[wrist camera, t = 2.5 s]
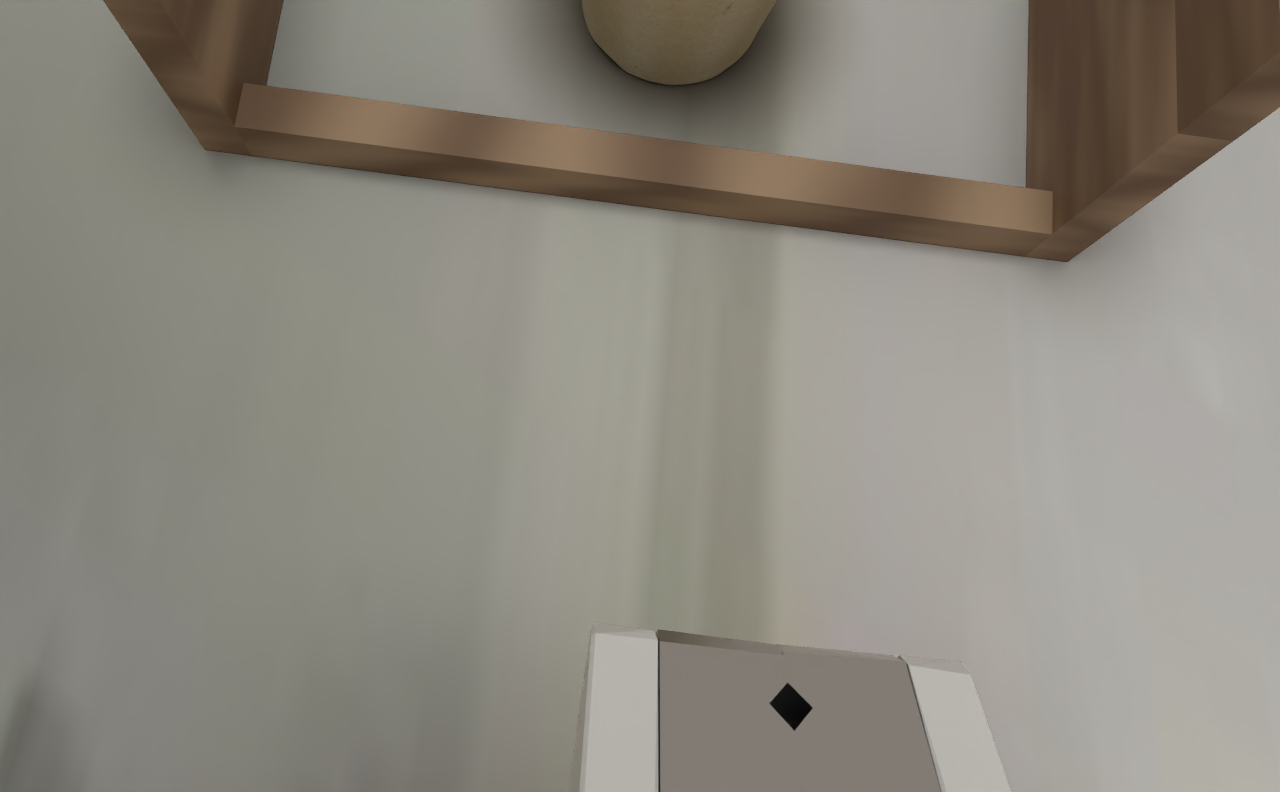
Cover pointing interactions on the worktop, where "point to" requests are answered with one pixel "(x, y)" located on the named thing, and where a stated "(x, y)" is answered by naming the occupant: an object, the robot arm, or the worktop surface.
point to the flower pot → (675, 35)
